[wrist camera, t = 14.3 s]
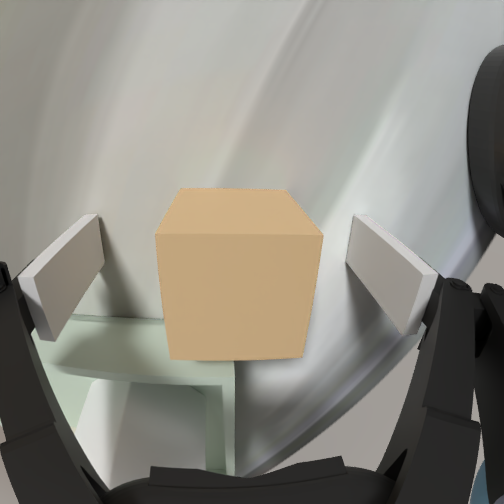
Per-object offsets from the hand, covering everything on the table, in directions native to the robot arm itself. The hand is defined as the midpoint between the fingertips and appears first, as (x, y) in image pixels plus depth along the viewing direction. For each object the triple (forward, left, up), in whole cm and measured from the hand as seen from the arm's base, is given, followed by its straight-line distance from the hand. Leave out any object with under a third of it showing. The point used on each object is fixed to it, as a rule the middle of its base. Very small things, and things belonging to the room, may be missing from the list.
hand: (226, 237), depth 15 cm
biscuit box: (0, 0, 0) cm, 0 cm away
